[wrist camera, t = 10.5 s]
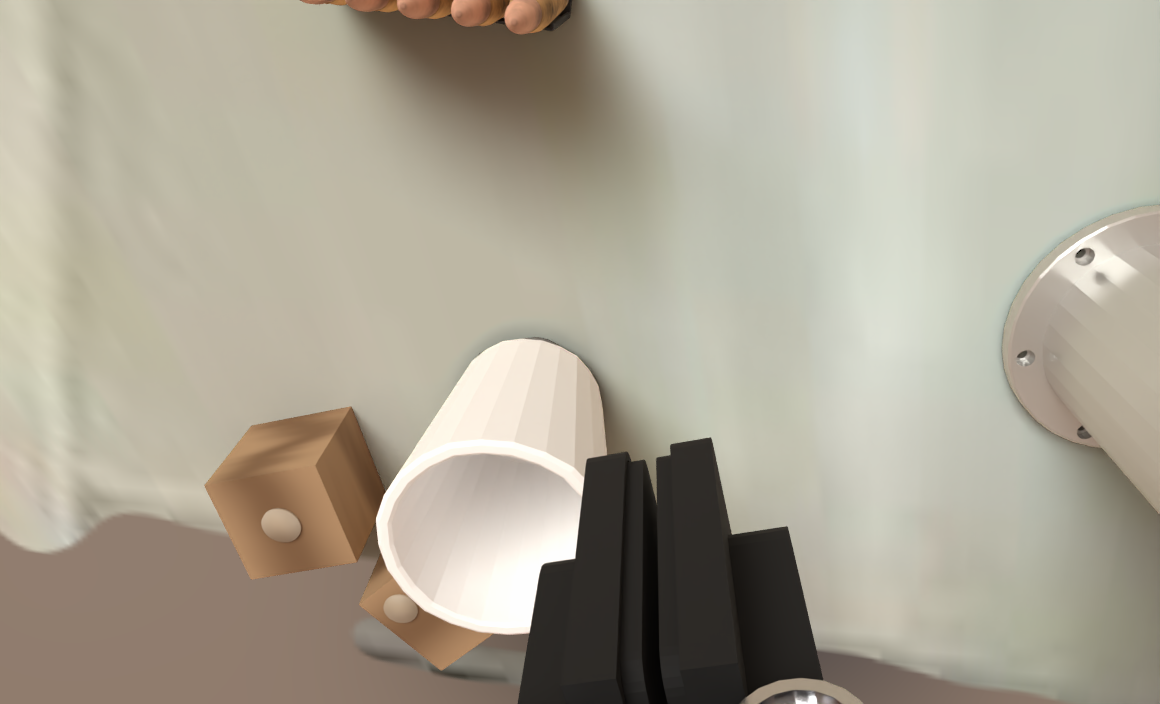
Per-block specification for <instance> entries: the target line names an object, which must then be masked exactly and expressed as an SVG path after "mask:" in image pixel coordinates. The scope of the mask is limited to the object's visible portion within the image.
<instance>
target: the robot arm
mask: <svg viewBox="0 0 1160 704" xmlns="http://www.w3.org/2000/svg"><path fill="white" fill-rule="evenodd" d="M1080 249H1081V252H1080V253H1079V254H1077V255H1076V253H1077V252H1078V251H1079V250H1080ZM1022 351H1023V352H1022ZM1020 352H1022V353H1021V354H1019V353H1020ZM1002 354H1003V363H1004V370H1005V373H1006V376H1007V378H1008V381H1009V384H1010V387H1011V389H1012V390H1013V392H1014V393H1015V395H1016V396H1017V398H1018V399H1019V401H1020V403H1021V404H1022V405H1023V407H1024V408H1025V409H1026V410H1027V411H1028V412H1029V413H1030V415H1031V416H1032V417H1033V418H1034V419H1035V420H1036V421H1037V422H1038V423H1040V424H1041V425H1042V426H1044V427H1045V428H1046V429H1048V430H1049V431H1050V432H1052V433H1054V434H1056V435H1058V436H1060V437H1063V438H1065V439H1067V440H1069V441H1071V442H1075V443H1079V444H1083V445H1087V446H1091V447H1097V448H1102V449H1103V450H1104V451H1105V452H1106V453H1107V454H1108V455H1109V457H1110V458H1111V459H1112V460H1113V461H1114V462H1115V464H1116V465H1117V466H1118V467H1119V468H1120V469H1121V471H1122V472H1123V473H1124V474H1125V475H1126V476H1127V477H1128V479H1129V480H1130V481H1131V482H1132V483H1133V484H1134V486H1135V487H1136V488H1137V489H1138V490H1139V491H1140V493H1141V494H1142V495H1143V496H1144V497H1145V498H1146V499H1147V501H1148V502H1149V503H1150V504H1151V505H1152V506H1153V508H1154V509H1155V510H1156V511H1157V512H1158V513H1159V514H1160V205H1153V206H1144V207H1138V208H1134V209H1131V210H1127V211H1124V212H1120V213H1116V214H1113V215H1110V216H1108V217H1106V218H1104V219H1102V220H1099V221H1097V222H1095V223H1093V224H1091V225H1088V226H1086V227H1084V228H1083V229H1081V230H1080V231H1078V232H1077V233H1075V234H1074V235H1072V236H1071V237H1069V238H1068V239H1066V240H1065V241H1063V242H1062V243H1060V244H1059V245H1058V246H1057V247H1056V248H1055V249H1054V250H1053V251H1052V252H1050V253H1049V254H1048V255H1047V256H1046V257H1045V258H1044V259H1043V260H1041V262H1040V263H1039V264H1038V265H1037V266H1036V268H1035V269H1034V270H1033V271H1032V273H1031V274H1030V275H1029V276H1028V278H1027V279H1026V280H1025V281H1024V283H1023V285H1022V287H1021V288H1020V290H1019V292H1018V294H1017V296H1016V297H1015V299H1014V301H1013V303H1012V305H1011V308H1010V311H1009V314H1008V317H1007V320H1006V323H1005V326H1004V335H1003V343H1002ZM670 452H671V455H669V456H664V457H658V458H657V459H656V470H657V504H656V500H655V496H654V492H653V488H652V484H651V479H650V475H649V471H648V468H647V464H646V462H645V460H640V461H634V462H631V459H630V456H629V454H628V452H622V453H617V454H611V455H605V456H599V457H593V458H588V459H587V461H586V467H585V476H584V484H583V493H582V502H581V510H580V519H579V528H578V537H577V545H576V554H575V559H569V560H562V561H555V562H549V563H544V564H543V565H542V566H541V570H540V574H539V579H538V585H537V591H536V597H535V603H534V609H533V615H532V621H531V627H530V633H529V639H528V645H527V651H526V657H525V663H524V669H523V675H522V681H521V687H520V693H519V699H518V704H863V703H862V701H860V700H859V699H858V698H856V697H855V696H854V695H852V694H851V693H849V692H848V691H847V690H845V689H844V688H841V687H839V686H836V685H834V684H831V683H828V682H826V681H823V677H822V673H821V668H820V664H819V660H818V656H817V651H816V647H815V642H814V638H813V634H812V629H811V625H810V621H809V616H808V612H807V608H806V603H805V599H804V595H803V590H802V586H801V582H800V577H799V573H798V569H797V565H796V560H795V556H794V552H793V547H792V543H791V539H790V534H789V530H788V527H780V528H773V529H767V530H760V531H754V532H747V533H740V534H734V535H732V534H731V529H730V524H729V519H728V514H727V510H726V505H725V500H724V495H723V490H722V486H721V481H720V476H719V471H718V466H717V462H716V457H715V452H714V447H713V443H712V439H711V438H705V439H699V440H693V441H687V442H681V443H675V444H671V445H670Z"/></svg>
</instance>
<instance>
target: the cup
mask: <svg viewBox="0 0 1160 704" xmlns="http://www.w3.org/2000/svg"><path fill="white" fill-rule="evenodd" d="M605 455H607V448H606V438H605V428H604V418H603V408H602V400H601V396H600V390H599V387H598V383H597V381H596V379H595V377H594V375H593V374H592V373H591V372H590V370H589V369H588V368H587V366H586V365H585V364H584V363H583V362H582V361H581V360H580V359H579V358H578V356H576V355H574V354H573V353H571V352H569V351H567V350H566V349H564V348H562V347H560V346H559V345H557V344H555V343H553V342H552V341H550V340H548V339H544V338H539V337H533V338H525V339H516V340H508V341H502V342H500V343H498V344H496V345H494V346H492V347H490V348H488V349H486V350H485V351H484V352H482V353H480V354H479V355H478V356H477V357H476V358H475V359H474V360H472V362H471V363H470V365H469V366H468V368H467V369H466V371H465V372H464V374H463V375H462V377H461V378H460V380H459V381H458V383H457V384H456V386H455V387H454V389H453V390H452V392H451V394H450V395H449V397H448V398H447V400H446V401H445V403H444V404H443V406H442V407H441V409H440V410H439V412H438V413H437V415H436V416H435V418H434V419H433V421H432V423H431V424H430V426H429V427H428V429H427V430H426V432H425V433H424V435H423V436H422V438H421V439H420V441H419V442H418V444H417V445H416V447H415V448H414V450H413V452H412V453H411V455H410V456H409V458H408V459H407V461H406V462H405V464H404V465H403V467H402V468H401V470H400V471H399V473H398V474H397V476H396V477H395V479H394V481H393V482H392V484H391V485H390V487H389V488H388V490H387V491H386V493H385V494H384V496H383V499H382V502H381V505H380V508H379V511H378V514H377V517H376V526H377V536H378V545H379V548H380V550H381V553H382V556H383V559H384V561H385V564H386V567H387V570H388V571H389V572H390V574H391V575H392V576H393V578H394V579H395V581H396V582H397V583H398V585H399V586H400V587H401V589H402V590H403V592H405V593H406V594H407V595H408V596H409V597H410V598H411V599H412V600H413V601H414V602H415V603H417V604H418V605H419V606H420V607H421V608H422V609H423V610H424V611H426V612H428V613H430V614H432V615H434V616H436V617H438V618H440V619H442V620H444V621H446V622H448V623H450V624H453V625H457V626H460V627H463V628H467V629H470V630H473V631H476V632H481V633H493V634H505V635H515V634H527V633H530V627H531V621H532V615H533V609H534V603H535V597H536V591H537V585H538V579H539V574H540V570H541V566H542V565H543V564H544V563H549V562H555V561H562V560H569V559H575V554H576V545H577V537H578V528H579V519H580V510H581V502H582V493H583V484H584V476H585V467H586V461H587V459H588V458H593V457H599V456H605Z"/></svg>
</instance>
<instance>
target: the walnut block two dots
mask: <svg viewBox="0 0 1160 704" xmlns="http://www.w3.org/2000/svg"><path fill="white" fill-rule="evenodd" d="M359 605H360V606H361V607H362V608H363V609H365V610H366V611H367V612H368V613H370V614H371V615H372V616H373V617H375V618H376V619H377V620H378V621H380V622H381V623H382V624H383V625H385V626H386V627H387V628H388V629H390V630H391V631H392V632H393V633H395V634H396V635H397V636H398V637H400V638H401V639H402V640H403V641H405V642H406V643H407V644H408V645H410V646H411V647H412V648H413V649H415V650H416V651H417V652H418V653H420V654H421V655H422V656H423V657H425V658H426V659H427V660H428V661H430V662H431V663H432V664H433V665H435V666H436V667H437V668H438V669H440V670H441V671H442V670H443V669H444V668H446V667H447V666H449V665H450V664H452V663H453V662H454V661H456V660H457V659H459V658H460V657H461V656H463V655H464V654H466V653H467V652H469V651H470V650H471V649H473V648H474V647H476V646H477V645H478V644H480V643H481V642H483V641H484V640H485V639H487V638H488V637H490V636H491V635H492V634H493V633H481V632H476V631H473V630H470V629H467V628H463V627H460V626H457V625H453V624H450V623H448V622H446V621H444V620H442V619H440V618H438V617H436V616H434V615H432V614H430V613H428V612H426V611H424V610H423V609H422V608H421V607H420V606H419V605H418V604H417V603H415V602H414V601H413V600H412V599H411V598H410V597H409V596H408V595H407V594H406V593H405V592H403V590H402V589H401V587H400V586H399V585H398V583H397V582H396V581H395V579H394V578H393V576H392V575H391V574H390V572H389V571H388V570H387V567H386V564H385V561H384V559H383V556H382V553H381V554H380V556H379V558H378V561H377V563H376V566H375V568H374V570H373V573H372V575H371V577H370V580H369V582H368V585H367V587H366V589H365V592H364V594H363V596H362V599H361V601H360V603H359Z"/></svg>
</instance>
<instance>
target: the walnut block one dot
mask: <svg viewBox="0 0 1160 704" xmlns="http://www.w3.org/2000/svg"><path fill="white" fill-rule="evenodd" d="M204 486H205V488H206V490H207V492H208V494H209V496H210V498H211V500H212V502H213V504H214V506H215V508H216V510H217V512H218V514H219V516H220V518H221V520H222V522H223V524H224V526H225V528H226V530H227V532H228V534H229V536H230V538H231V540H232V542H233V544H234V546H235V548H236V550H237V552H238V554H239V556H240V558H241V560H242V562H243V564H244V566H245V568H246V570H247V572H248V574H249V576H250V578H251V580H252V579H258V578H263V577H270V576H276V575H282V574H288V573H295V572H300V571H307V570H313V569H319V568H325V567H331V566H337V565H344V564H350V563H355V562H357V561H358V559H359V557H360V555H361V553H362V550H363V548H364V546H365V544H366V542H367V539H368V537H369V535H370V533H371V531H372V528H373V526H374V524H375V522H376V517H377V514H378V511H379V508H380V505H381V502H382V499H383V496H384V494H385V493H386V492H385V489H384V487H383V484H382V482H381V479H380V477H379V474H378V472H377V469H376V467H375V464H374V462H373V459H372V457H371V454H370V452H369V449H368V447H367V444H366V442H365V440H364V437H363V435H362V432H361V430H360V427H359V425H358V422H357V420H356V417H355V415H354V412H353V410H352V407H346V408H341V409H335V410H330V411H325V412H320V413H315V414H310V415H304V416H299V417H294V418H289V419H284V420H279V421H273V422H268V423H263V424H258V425H253V426H251V427H250V428H249V430H248V431H247V432H246V433H245V435H244V436H243V437H242V439H241V440H240V441H239V442H238V444H237V445H236V446H235V447H234V449H233V450H232V451H231V452H230V454H229V455H228V456H227V458H226V459H225V460H224V461H223V463H222V464H221V465H220V466H219V468H218V469H217V470H216V471H215V473H214V474H213V475H212V477H211V478H210V479H209V480H208V482H207V483H206V484H205V485H204Z"/></svg>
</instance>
